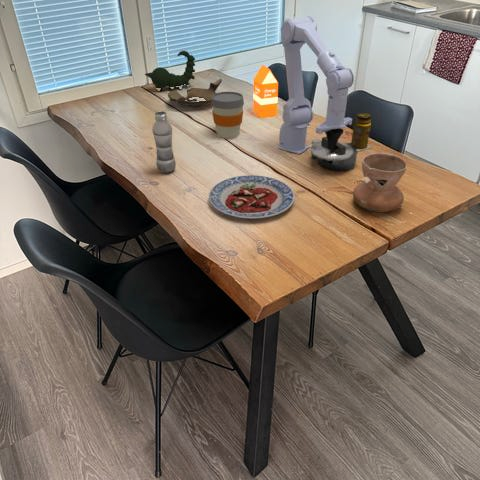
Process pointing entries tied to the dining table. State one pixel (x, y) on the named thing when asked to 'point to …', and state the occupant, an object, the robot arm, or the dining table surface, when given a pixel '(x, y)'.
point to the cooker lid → (322, 151)
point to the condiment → (361, 131)
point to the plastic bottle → (163, 143)
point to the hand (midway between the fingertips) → (331, 149)
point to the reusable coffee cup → (227, 113)
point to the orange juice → (265, 93)
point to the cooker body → (338, 163)
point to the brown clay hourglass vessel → (380, 182)
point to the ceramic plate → (251, 196)
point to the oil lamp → (195, 95)
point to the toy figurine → (165, 78)
